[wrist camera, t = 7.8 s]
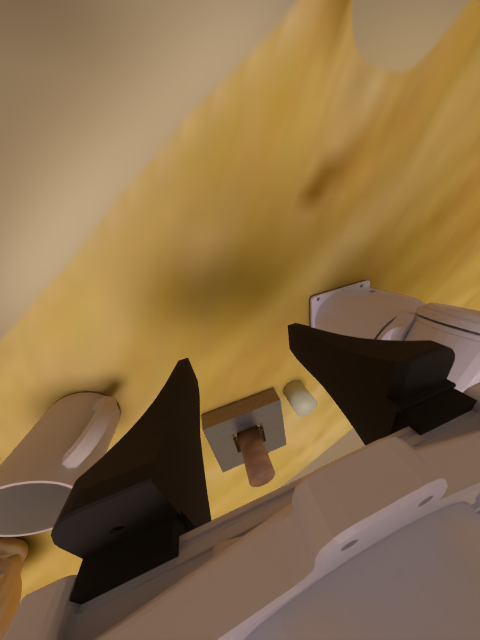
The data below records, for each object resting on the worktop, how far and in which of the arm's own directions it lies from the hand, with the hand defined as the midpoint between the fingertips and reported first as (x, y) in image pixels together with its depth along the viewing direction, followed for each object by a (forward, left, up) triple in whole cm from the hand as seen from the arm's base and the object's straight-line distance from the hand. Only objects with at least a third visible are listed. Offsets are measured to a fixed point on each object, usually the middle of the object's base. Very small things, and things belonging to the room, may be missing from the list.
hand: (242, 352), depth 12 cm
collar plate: (+1, +22, -10) cm, 24 cm away
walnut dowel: (+1, +22, -10) cm, 24 cm away
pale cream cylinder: (-9, +18, -10) cm, 22 cm away
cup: (+18, +8, -10) cm, 22 cm away
